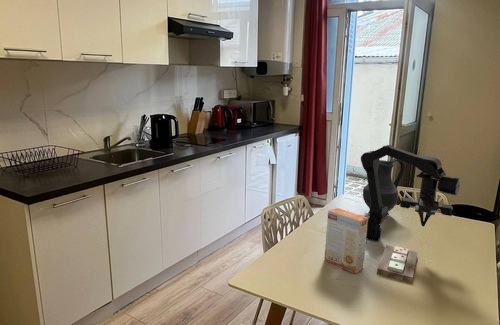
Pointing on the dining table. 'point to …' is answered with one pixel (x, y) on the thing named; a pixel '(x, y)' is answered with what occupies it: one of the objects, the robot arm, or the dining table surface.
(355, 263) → the cracker box
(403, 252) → the tile three
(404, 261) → the tile two
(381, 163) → the pitcher
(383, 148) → the robot arm
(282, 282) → the dining table surface
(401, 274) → the frame board
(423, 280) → the dining table surface
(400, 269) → the tile one
